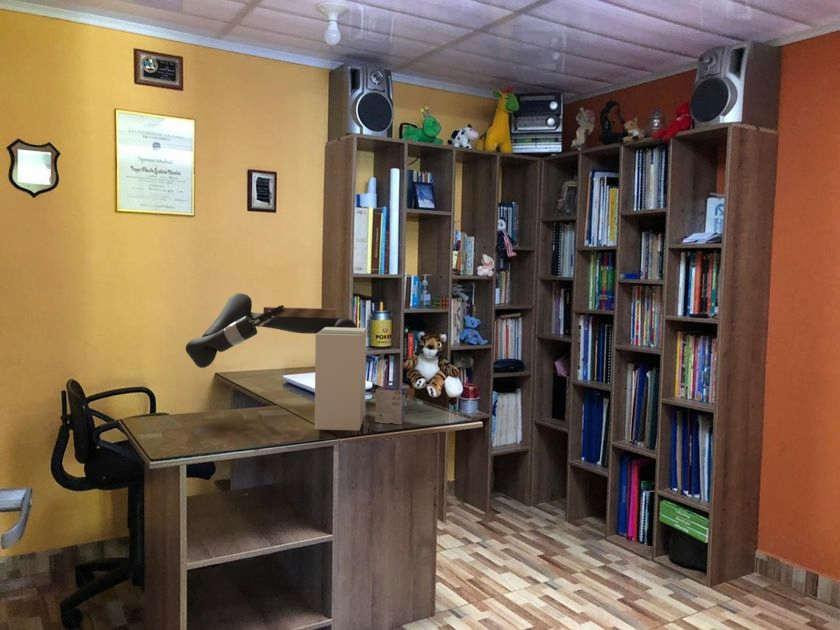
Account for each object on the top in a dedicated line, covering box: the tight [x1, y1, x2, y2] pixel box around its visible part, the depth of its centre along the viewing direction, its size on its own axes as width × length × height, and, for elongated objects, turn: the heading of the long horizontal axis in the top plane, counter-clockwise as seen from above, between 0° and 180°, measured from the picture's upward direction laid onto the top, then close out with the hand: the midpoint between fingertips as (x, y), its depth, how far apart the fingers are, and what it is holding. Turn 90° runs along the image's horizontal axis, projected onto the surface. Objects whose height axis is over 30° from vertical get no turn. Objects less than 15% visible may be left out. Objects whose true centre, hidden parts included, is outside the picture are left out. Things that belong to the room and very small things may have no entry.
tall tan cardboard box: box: [314, 327, 367, 431], centre depth 244 cm, size 15×24×32 cm, turn 0°
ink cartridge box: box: [374, 380, 406, 425], centre depth 245 cm, size 10×6×14 cm, turn 78°
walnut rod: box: [263, 306, 337, 318], centre depth 245 cm, size 25×3×3 cm, turn 90°
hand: (282, 307), depth 245 cm, fingers closed on walnut rod, 3 cm apart
